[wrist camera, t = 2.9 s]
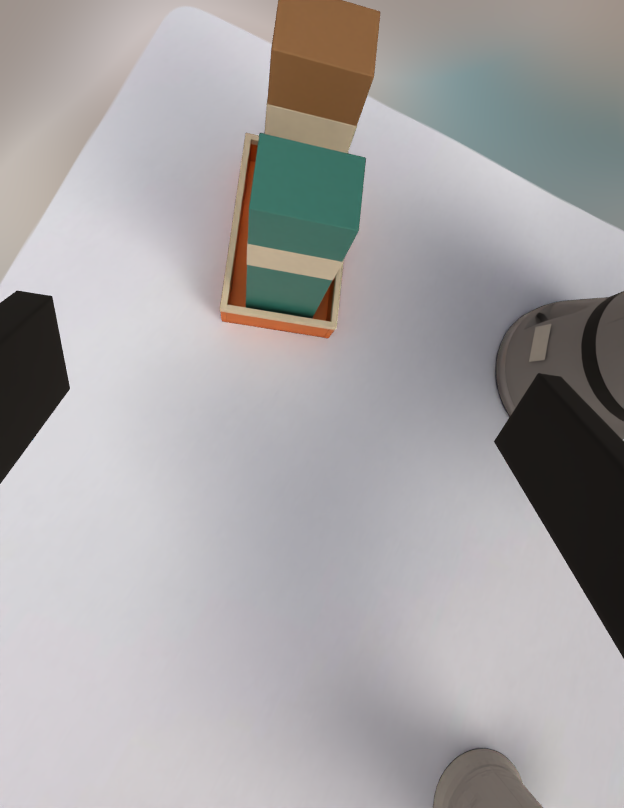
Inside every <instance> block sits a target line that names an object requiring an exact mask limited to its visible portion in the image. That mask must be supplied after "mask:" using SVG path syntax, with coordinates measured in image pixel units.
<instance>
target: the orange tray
mask: <svg viewBox="0 0 624 808" xmlns="http://www.w3.org/2000/svg"><path fill="white" fill-rule="evenodd" d="M258 140H259V136H258V135H254V134H250V133H246V134H245V141H244V148H243V155H242V161H241V168H240V175H239V182H238V188H237V195H236V202H235V209H234V215H233V222H232V229H231V236H230V243H229V249H228V256H227V263H226V270H225V276H224V283H223V290H222V297H221V303H220V312H221V319H222V321H224V322H230V323H236V324H242V325H249V326H255V327H261V328H267V329H274V330H280V331H286V332H292V333H299V334H305V335H311V336H317V337H324V338H329V337H330V335H331V334H332V333H333V332H334V330H335V329H336V328H337V319H338V309H339V299H340V290H341V280H342V271H343V263H342V264H341V266H340V268H339V270H338V272H337V274H336V276H335V278H334V279H333V280H332V282H331V284H330V286H329V288H328V290H327V292H326V293H325V295H324V297H323V299H322V301H321V303H320V305H319V307H318V309H317V310H316V312H315V314H314V316H313V318H312V319H311V318H305V317H300V316H294V315H288V314H282V313H276V312H270V311H264V310H258V309H252V308H246V277H247V264H246V262H247V241H248V217H249V203H250V196H251V189H252V182H253V175H254V168H255V161H256V154H257V147H258ZM343 261H344V259H343Z"/></svg>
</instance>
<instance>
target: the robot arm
mask: <svg viewBox="0 0 624 808" xmlns="http://www.w3.org/2000/svg"><path fill="white" fill-rule="evenodd" d="M496 377H497V385H498V390H499V393H500V397H501V400H502V402H503V405H504V407H505V409H506V411H507V412H508V414H509V416H510V417H509V419H508V421H507V422H506V424H505V425H504V427H503V428H502V430H501V432H500V433H499V435H498V436H497V438H496V439H495V441H494V442H495V444H496V446H497V447H498V449H499V451H500V452H501V454H502V456H503V457H504V459H505V461H506V462H507V464H508V466H509V467H510V469H511V471H512V472H513V474H514V476H515V477H516V479H517V481H518V482H519V484H520V486H521V487H522V489H523V491H524V492H525V494H526V496H527V497H528V499H529V501H530V502H531V504H532V506H533V508H534V509H535V511H536V513H537V514H538V516H539V518H540V519H541V521H542V523H543V524H544V526H545V528H546V529H547V531H548V533H549V534H550V536H551V538H552V539H553V541H554V543H555V544H556V546H557V548H558V549H559V551H560V553H561V554H562V556H563V558H564V559H565V561H566V563H567V564H568V566H569V568H570V569H571V571H572V573H573V574H574V576H575V578H576V579H577V581H578V583H579V584H580V586H581V588H582V589H583V591H584V593H585V594H586V596H587V598H588V600H589V601H590V603H591V605H592V606H593V608H594V610H595V611H596V613H597V615H598V616H599V618H600V620H601V621H602V623H603V625H604V626H605V628H606V630H607V631H608V633H609V635H610V636H611V638H612V640H613V641H614V643H615V645H616V646H617V648H618V650H619V651H620V653H621V655H622V656H623V658H624V441H623V440H622V439H624V291H623V292H621V293H618V294H616V295H614V296H611V297H606V298H593V299H580V300H568V301H559V302H555V303H551V304H547V305H544V306H541V307H539V308H537V309H535V310H533V311H531V312H529V313H527V314H525V315H524V316H522V317H521V318H520V319H518V320H517V321H516V322H515V323H514V324H513V325H512V326H511V327H510V329H509V330H508V332H507V333H506V335H505V337H504V338H503V340H502V343H501V345H500V348H499V352H498V357H497V364H496ZM69 389H70V386H69V381H68V376H67V371H66V366H65V360H64V355H63V350H62V345H61V340H60V334H59V329H58V324H57V319H56V314H55V308H54V303H53V298H52V296H48V295H41V294H35V293H29V292H22V291H16V292H15V293H13V294H12V295H11V296H9V297H8V298H6V299H5V300H4V301H2V302H1V303H0V484H1V482H2V481H3V479H4V478H5V477H6V475H7V474H8V473H9V471H10V470H11V469H12V467H13V466H14V464H15V463H16V462H17V460H18V459H19V458H20V456H21V455H22V454H23V452H24V451H25V449H26V448H27V447H28V445H29V444H30V443H31V441H32V440H33V439H34V437H35V436H36V434H37V433H38V432H39V430H40V429H41V428H42V426H43V425H44V423H45V422H46V421H47V419H48V418H49V417H50V415H51V414H52V413H53V411H54V410H55V408H56V407H57V406H58V404H59V403H60V402H61V400H62V399H63V398H64V396H65V395H66V393H67V392H68V391H69Z"/></svg>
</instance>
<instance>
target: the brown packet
mask: <svg viewBox="0 0 624 808" xmlns="http://www.w3.org/2000/svg"><path fill="white" fill-rule="evenodd" d="M379 21H380V11H376V10H373V9H370V8H366V7H363V6H360V5H356V4H353V3H350V2H346V1H343V0H278V7H277V14H276V21H275V28H274V35H273V42H272V49H271V61H270V75H269V88H268V99H267V107H266V121H265V134H268V135H272V136H276V137H280V138H284V139H289V140H293V141H297V142H301V143H306V144H310V145H314V146H318V147H323V148H327V149H331V150H335V151H339V152H344V153H348V150H349V147H350V145H351V142H352V139H353V136H354V133H355V131H356V128H357V123H358V120H359V118H360V115H361V112H362V109H363V106H364V103H365V101H366V98H367V95H368V92H369V89H370V86H371V84H372V81H373V78H374V70H375V61H376V51H377V41H378V31H379Z"/></svg>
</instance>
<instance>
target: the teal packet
mask: <svg viewBox="0 0 624 808" xmlns="http://www.w3.org/2000/svg"><path fill="white" fill-rule="evenodd" d="M365 162H366V158H365V157H361V156H356V155H352V154H348V153H344V152H339V151H335V150H331V149H327V148H323V147H318V146H314V145H310V144H306V143H301V142H297V141H293V140H289V139H284V138H280V137H276V136H272V135H268V134H263V133H260V134H259V140H258V147H257V154H256V161H255V168H254V175H253V182H252V189H251V196H250V203H249V217H248V241H247V262H246V264H247V277H246V308H252V309H258V310H264V311H270V312H276V313H282V314H288V315H294V316H300V317H305V318H311V319H312V318H313V316H314V314H315V312H316V310H317V309H318V307H319V305H320V303H321V301H322V299H323V297H324V295H325V293H326V292H327V290H328V288H329V286H330V284H331V282H332V280H333V279H334V278H335V276H336V274H337V272H338V270H339V268H340V266H341V264H342V263H343V259H344V258H345V256H346V254H347V252H348V250H349V248H350V246H351V244H352V242H353V241H354V239H355V237H356V235H357V233H358V231H359V222H360V212H361V202H362V192H363V182H364V172H365Z"/></svg>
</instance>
